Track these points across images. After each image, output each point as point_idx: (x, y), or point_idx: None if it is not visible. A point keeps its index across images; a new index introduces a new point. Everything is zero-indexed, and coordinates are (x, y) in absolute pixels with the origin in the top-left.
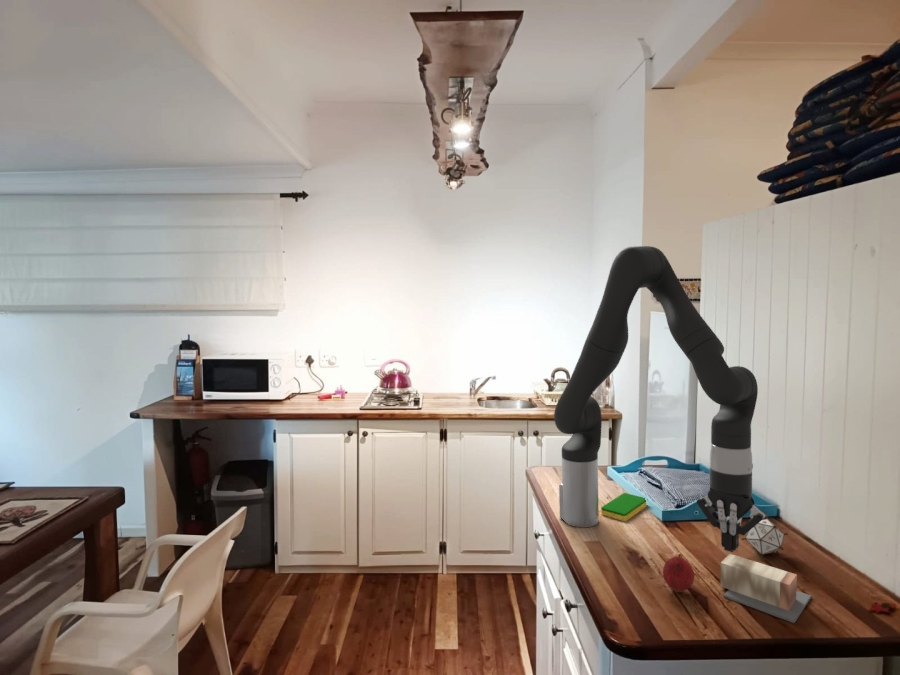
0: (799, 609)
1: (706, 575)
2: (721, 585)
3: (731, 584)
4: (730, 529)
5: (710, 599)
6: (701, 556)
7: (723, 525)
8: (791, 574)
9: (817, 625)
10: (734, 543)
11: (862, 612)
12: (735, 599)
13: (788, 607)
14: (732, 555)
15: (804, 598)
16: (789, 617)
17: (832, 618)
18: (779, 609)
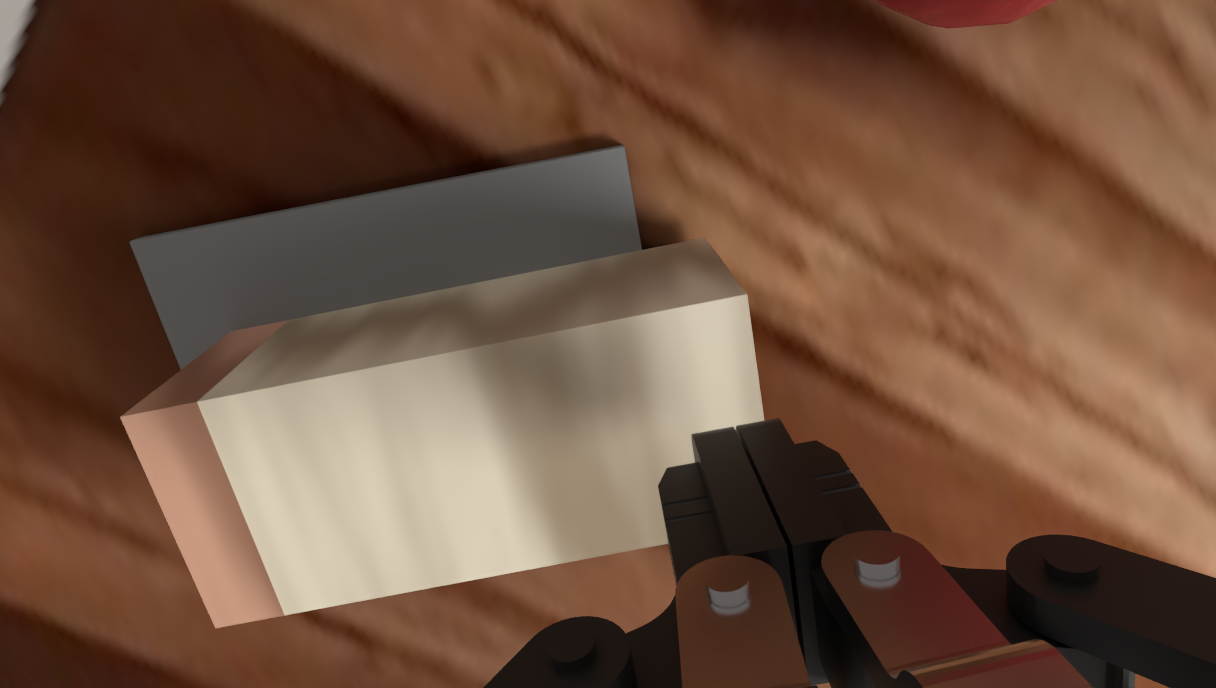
0: None
1: (868, 325)
2: (698, 240)
3: (625, 266)
4: (770, 609)
5: (671, 20)
6: (1017, 532)
7: (911, 616)
8: (239, 598)
9: (58, 341)
10: (687, 514)
11: (43, 676)
12: (535, 162)
13: (223, 340)
14: None
15: None
16: (171, 252)
17: (73, 490)
18: (273, 295)
